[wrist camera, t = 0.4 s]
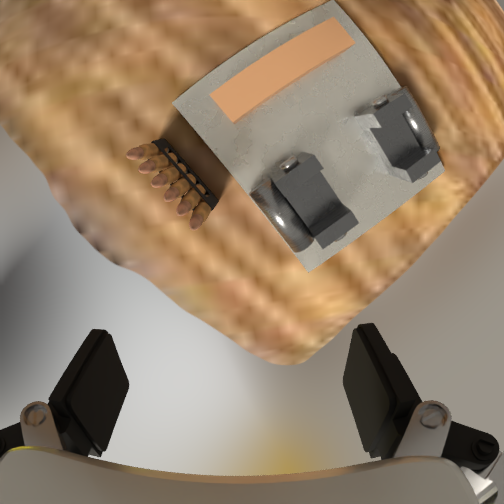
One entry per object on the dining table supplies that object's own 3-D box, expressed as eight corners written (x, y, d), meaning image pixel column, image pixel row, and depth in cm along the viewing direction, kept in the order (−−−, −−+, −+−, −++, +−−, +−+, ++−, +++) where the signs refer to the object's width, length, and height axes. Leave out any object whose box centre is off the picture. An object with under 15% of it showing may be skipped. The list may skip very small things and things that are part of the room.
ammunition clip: (219, 201, 37) (207, 230, 26) (208, 210, 37) (191, 242, 26) (164, 138, 34) (127, 140, 23) (153, 148, 34) (113, 155, 23)
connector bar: (325, 27, 28) (333, 16, 24) (345, 51, 29) (355, 43, 25) (213, 99, 31) (209, 94, 27) (234, 124, 32) (232, 122, 29)
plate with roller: (331, 2, 27) (346, -20, 20) (441, 169, 35) (470, 178, 29) (173, 103, 32) (157, 96, 26) (307, 269, 41) (317, 294, 34)
